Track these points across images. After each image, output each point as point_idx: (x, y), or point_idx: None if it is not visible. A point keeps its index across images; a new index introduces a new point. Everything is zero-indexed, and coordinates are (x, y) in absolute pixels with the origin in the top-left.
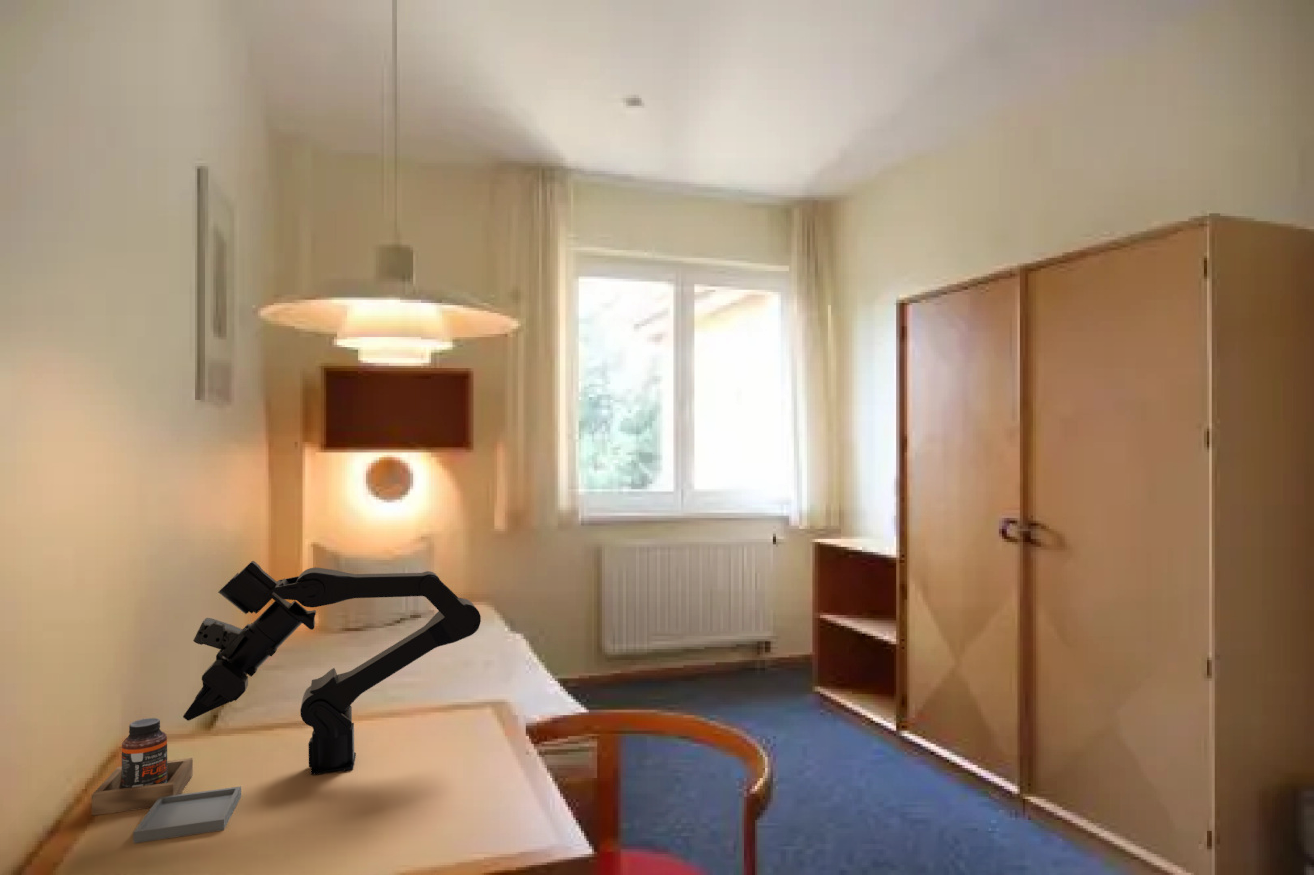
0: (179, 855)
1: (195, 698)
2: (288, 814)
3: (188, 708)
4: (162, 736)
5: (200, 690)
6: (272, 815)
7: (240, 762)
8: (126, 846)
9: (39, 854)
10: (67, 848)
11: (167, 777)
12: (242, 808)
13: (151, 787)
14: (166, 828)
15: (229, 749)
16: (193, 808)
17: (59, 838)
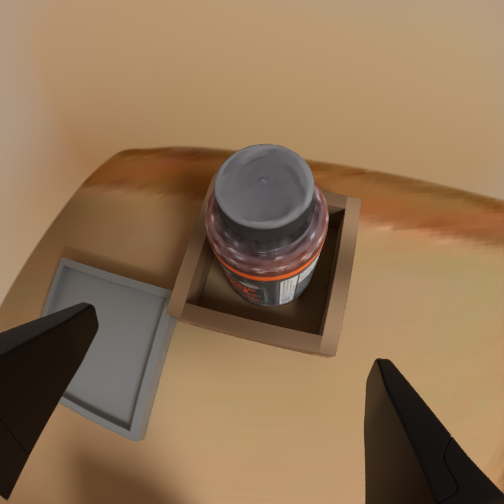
0: (10, 317)
1: (375, 360)
2: (41, 467)
3: (63, 317)
4: (238, 259)
5: (386, 387)
6: (47, 450)
7: (355, 452)
8: (69, 254)
9: (126, 156)
10: (118, 183)
11: (325, 305)
12: (91, 426)
13: (179, 271)
14: (47, 302)
15: (450, 417)
16: (108, 350)
17: (160, 166)
